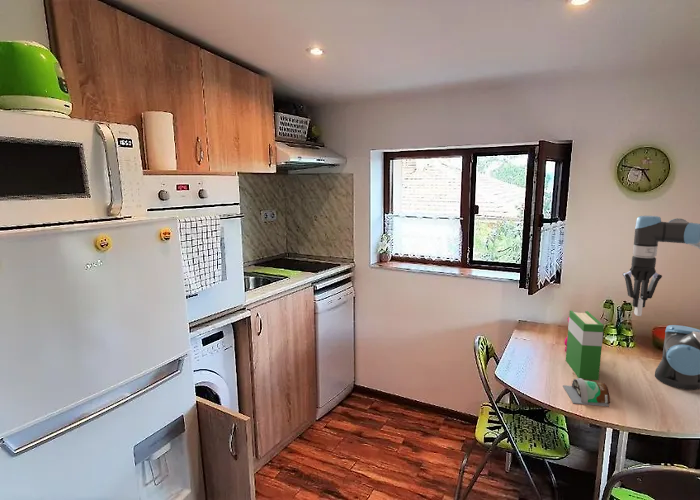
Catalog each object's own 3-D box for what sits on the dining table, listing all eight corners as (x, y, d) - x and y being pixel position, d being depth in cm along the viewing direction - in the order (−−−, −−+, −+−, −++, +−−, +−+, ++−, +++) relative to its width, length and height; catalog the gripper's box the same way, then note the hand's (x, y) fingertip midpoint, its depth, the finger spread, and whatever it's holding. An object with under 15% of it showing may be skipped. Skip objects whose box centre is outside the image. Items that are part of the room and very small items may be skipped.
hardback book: (565, 360, 188) (569, 310, 184) (583, 361, 187) (587, 311, 183) (579, 378, 171) (583, 324, 167) (598, 380, 170) (603, 325, 166)
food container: (612, 389, 150) (583, 387, 152) (611, 405, 151) (581, 402, 153) (600, 374, 162) (572, 372, 164) (598, 388, 163) (571, 386, 165)
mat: (595, 388, 163) (595, 387, 163) (608, 406, 151) (608, 405, 151) (562, 386, 166) (562, 385, 166) (573, 403, 153) (573, 402, 153)
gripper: (629, 257, 155) (623, 317, 159) (668, 258, 152) (661, 319, 156) (621, 254, 162) (615, 311, 166) (658, 254, 159) (651, 312, 164)
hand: (637, 314), depth 161 cm, fingers closed
